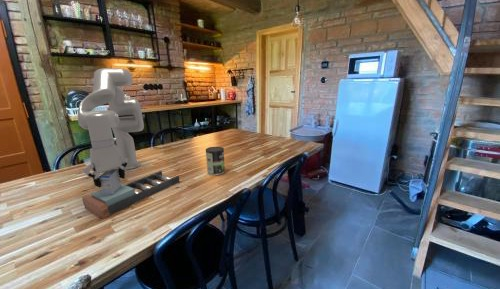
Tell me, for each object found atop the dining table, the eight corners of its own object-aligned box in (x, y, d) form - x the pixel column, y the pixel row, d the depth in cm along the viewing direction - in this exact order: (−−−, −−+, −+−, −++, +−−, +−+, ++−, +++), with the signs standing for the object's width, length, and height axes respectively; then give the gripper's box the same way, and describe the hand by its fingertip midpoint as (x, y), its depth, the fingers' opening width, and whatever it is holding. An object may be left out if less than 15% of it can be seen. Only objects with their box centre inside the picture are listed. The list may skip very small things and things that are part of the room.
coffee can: (227, 169, 133) (226, 146, 129) (221, 175, 123) (220, 151, 119) (211, 168, 135) (209, 146, 131) (204, 174, 125) (202, 151, 121)
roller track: (84, 207, 93) (82, 197, 92) (161, 176, 124) (160, 167, 123) (103, 218, 86) (100, 207, 84) (179, 181, 117) (178, 172, 115)
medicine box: (110, 187, 99) (107, 169, 96) (121, 186, 99) (118, 168, 97) (102, 195, 91) (98, 176, 89) (114, 194, 92) (110, 175, 90)
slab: (92, 200, 94) (90, 193, 93) (120, 188, 104) (119, 183, 103) (106, 207, 88) (105, 200, 87) (135, 194, 98) (134, 188, 97)
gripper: (119, 138, 98) (126, 173, 103) (73, 147, 84) (83, 188, 89) (128, 139, 94) (135, 176, 99) (82, 150, 80) (92, 192, 85)
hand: (111, 182), depth 94 cm, fingers open, 9 cm apart
